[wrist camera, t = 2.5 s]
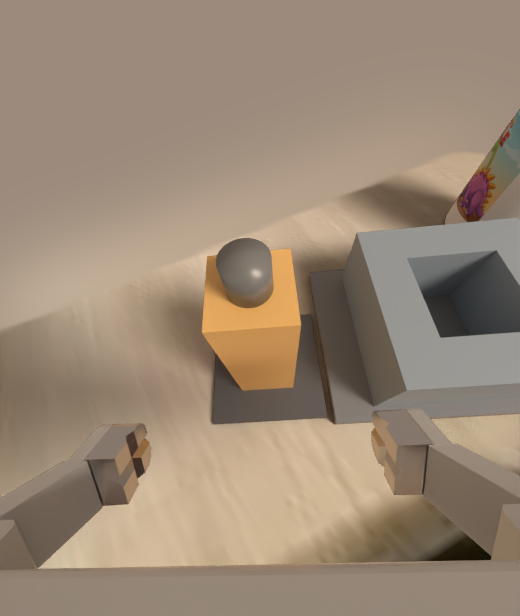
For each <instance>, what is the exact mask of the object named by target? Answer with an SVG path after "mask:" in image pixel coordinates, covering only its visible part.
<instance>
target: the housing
mask: <svg viewBox="0 0 520 616" xmlns="http://www.w3.org/2000/svg"><path fill="white" fill-rule="evenodd" d="M309 278H310V284H311V289H312V295H313V301H314V307H315V312H316V318H317V324H318V330H319V336H320V341H321V347H322V353H323V359H324V365H325V370H326V376H327V382H328V388H329V394H330V399H331V405H332V411H333V417H334V423H335V424H349V423H367V422H372V413H373V411H384V410H401V409H408V408H420V409H422V410H423V411H424V412H425V414H426V415H427V416H428V417H429V418H430V419H437V418H455V417H472V416H490V415H507V414H520V221H519V219H518V218H508V219H498V220H487V221H477V222H466V223H456V224H445V225H435V226H424V227H414V228H403V229H393V230H382V231H371V232H361V233H357V234H356V237H355V240H354V243H353V246H352V249H351V252H350V255H349V258H348V261H347V264H346V267H345V269H344V270H333V271H321V272H310V276H309Z"/></svg>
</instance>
